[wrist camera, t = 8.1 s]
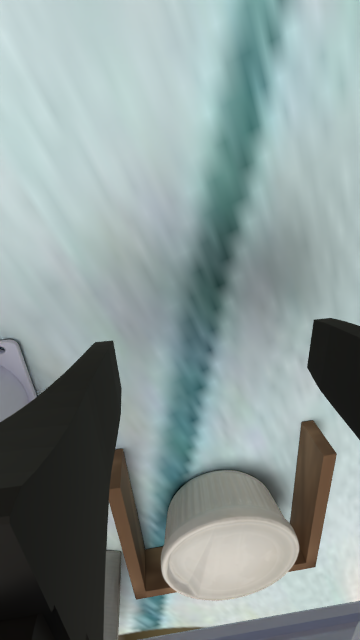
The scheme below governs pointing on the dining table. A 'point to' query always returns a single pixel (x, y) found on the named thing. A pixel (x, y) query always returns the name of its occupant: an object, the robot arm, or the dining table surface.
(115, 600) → the soda pack
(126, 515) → the box
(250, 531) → the ramekin
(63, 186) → the dining table surface
